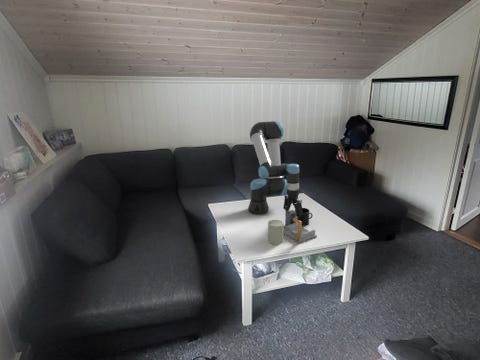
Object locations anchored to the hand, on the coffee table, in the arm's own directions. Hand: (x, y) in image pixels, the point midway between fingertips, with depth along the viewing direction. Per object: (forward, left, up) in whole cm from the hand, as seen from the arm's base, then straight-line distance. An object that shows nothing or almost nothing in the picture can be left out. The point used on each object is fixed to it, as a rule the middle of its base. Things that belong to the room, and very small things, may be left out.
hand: (292, 222), depth 189 cm
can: (+8, -20, -3) cm, 22 cm away
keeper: (+10, -4, -3) cm, 12 cm away
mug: (-1, +10, -3) cm, 11 cm away
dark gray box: (-2, 0, -3) cm, 4 cm away
